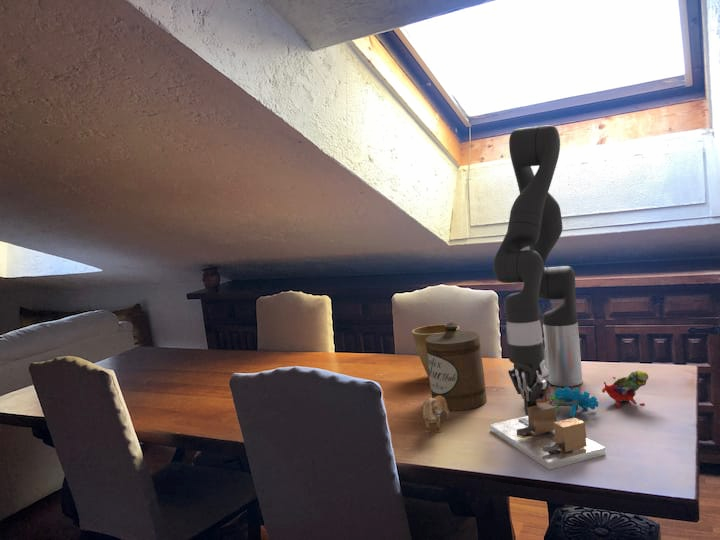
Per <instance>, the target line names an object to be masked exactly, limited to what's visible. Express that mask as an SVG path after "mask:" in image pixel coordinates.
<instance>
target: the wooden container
mask: <svg viewBox="0 0 720 540" xmlns="http://www.w3.org/2000/svg"><path fill="white" fill-rule="evenodd" d="M457 326H458V325H457V323H455V322H452V321H451V322H450V321H449V322H447V324H446V325H445V329H446V332H445V333H439V334H435V335H431V336H429V337H427V338H426V348H427V356H428V366H429V377H428V378H430V379H429V385H430V387H429V388H430V394H431V398H434V397H436V396H439V395H441V396H443V397H444V398H445V399H446V403H447V407H448V409H449V411H465V410H467V411H468V410H472V409H476V408H479V407H481V406H482V405H484V404H485V403H486V402H487V389H486V381H485V380H486V379H485V372H484V371H485V370H484V364H483V355H482V350H481V339H480V334H479V333H477V332H474V331H466V330H463V331H462V330H461V331H460V330H459V331H457V330H456V329H457ZM441 409H443V408H441Z"/></svg>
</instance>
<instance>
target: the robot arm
mask: <svg viewBox="0 0 720 540" xmlns="http://www.w3.org/2000/svg"><path fill="white" fill-rule="evenodd" d="M559 133H560V132H559V130H558V128H557V126H555V125H552V124H549V125H548V124H545V125H538V126H529V127H521V128H515V129H514V130H512V132H511V133H510V135H509V139H508V140H509V141H508V145H509V156H510V160H511V164H512V167H513V172H514V175H515V179H516V183H517V187H518V191H519V195H518V196H517V198H516V199H515V200H514V201H513V204H512V206H511V210H510V211H509V212H510V213H509V218H508V226H507V232H506V234H505V236H504V238H503V240H502V242H501V244H500V246H499V248H498V251H497V252H496V254H495V257H494V261H493V266H492V268H493V269H492V270H493V274H494V276H495V278H496V279H497V281H499V283H504V284H518V283H519V284H521V283H523V288H522V290H521V291H519V292H515V293H511V294H508V295H507V296H506V297H505V299H504V306H505V307H504V308H505V318H506V328H505V329H506V331H505V332H506V343H507V352H508V360H509V362H511V363H512V364H513V368H512V369H510V370H508V372H507V373H508V375H509V377H510V380H511V382H512V384H513V387H514V388H515V391H516V393H517V394H518V395H521V398H522V399H523V402H524V403H523V404H524V405H523V406H524V412H525V413H524V414H525V416H528V410H527V408H528V407H532V406H536V405H537V400H539V399H543V397H544V395H545V393H546V391H547V389H548V387H549V385H550V386H551V385H552V386H555V387H563V388H564V387H575V386H579V385H582V384H583V374H582V373H583V371H582V361H581V360H582V358H581V346H580V345H581V344H580V335H579V334H580V333H579V322H578V314H577V302H576V300H577V298H576V276H575V271H574V269H573V267H571V266H569V265H561V266H560V265H559V266H547V267H546V266H545V265H546V262H547V259H548V257H549V255H550V253H551V251H552V250H553V248H554V247H555V245H556V244H557V242H558V241H559V239H560V237H561V235H562V232H563V220H562V219H563V218H562V214H561V213H562V212H561V206H560V205H559V203H558V201H557V200H556V199H555V197H554V196H553V195H552V194H551V193H550V192H549V191H550V187H551V185H552V181H553V178H554V174H555V170H556V167H557V164H558V160H559V157H560V156H559V155H560V150H561V137H560V134H559ZM536 166H537V167H538V168H537V170H536V173H534V171H533V169H532V167H536ZM527 247H528V250H523V249H524V248H527ZM539 300H545V301H547V300H549V301H550V300H551V301H552V300H563V302H562V304H560V305H559V306H557V307H555V308H553V309H551V310H548V311H545V312H544V313H543V314H542V324H541V321H540V320H541V319H540V309H539V307H540V306H539ZM542 329H543V331H542ZM543 338H544V339H543ZM543 340H544V342H543ZM543 360H545V366H544V367H545V368H546V369H547V370H548V371H549V380H544V379H543V377H542V376H541V375H542V370H541V368H540V363H541V362H542V361H543ZM549 381H550V382H549Z"/></svg>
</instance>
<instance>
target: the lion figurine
mask: <svg viewBox="0 0 720 540" xmlns="http://www.w3.org/2000/svg"><path fill="white" fill-rule="evenodd" d="M441 408H443V409H441ZM450 412H451V410H449V409H448V407H447V403H446V399H445V398H444V397H443V396H441V395H439V396H436V397H434V398H432V397H429V398H426V399H425V400H424V401H423V404H422V406H421V415H422V418H423V419H424V423H425V426H426V429H425V433H427V434H431V430H432V429H431V425H430V424H432V423H434V424H435V430H436V433H441V432H443V431H442V429H441V418H440V416H441V415H445V414H446V416H445V419H446V420H451V413H450Z"/></svg>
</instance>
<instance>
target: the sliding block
mask: <svg viewBox="0 0 720 540" xmlns="http://www.w3.org/2000/svg"><path fill="white" fill-rule="evenodd" d="M527 410H528V421H529V427H526V428H522V429H518V430H517V434H519V435H520V434H524V433H528V432H534V433H536V434H541V433H545V432H549V431H553V430H554V422H558V421H557V419H558V418H557V414H556V407H555V405H552V404H550V403H545V404H541V405H536V406H532V407H528V408H527Z"/></svg>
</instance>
